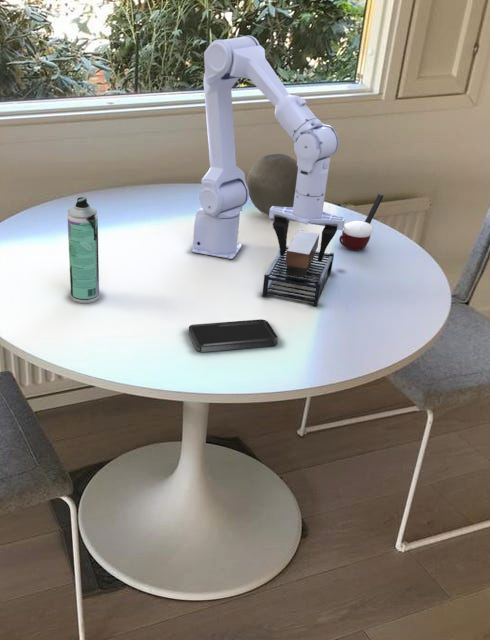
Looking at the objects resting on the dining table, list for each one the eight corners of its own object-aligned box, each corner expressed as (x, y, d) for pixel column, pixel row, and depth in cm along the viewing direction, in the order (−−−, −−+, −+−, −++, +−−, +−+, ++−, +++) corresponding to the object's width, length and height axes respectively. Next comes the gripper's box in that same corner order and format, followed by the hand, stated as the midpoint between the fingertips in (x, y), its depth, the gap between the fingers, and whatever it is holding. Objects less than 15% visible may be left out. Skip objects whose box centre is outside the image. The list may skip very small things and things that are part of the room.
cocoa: (339, 253, 171) (347, 202, 165) (332, 242, 177) (340, 191, 170) (380, 253, 172) (390, 202, 166) (372, 242, 178) (381, 192, 171)
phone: (279, 340, 136) (197, 346, 133) (279, 345, 137) (197, 352, 134) (266, 318, 142) (187, 324, 139) (265, 323, 143) (187, 329, 140)
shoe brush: (283, 274, 151) (286, 250, 149) (295, 252, 160) (298, 230, 157) (305, 278, 150) (309, 254, 147) (316, 256, 159) (319, 233, 156)
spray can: (103, 293, 151) (102, 196, 140) (92, 305, 147) (89, 206, 136) (78, 288, 153) (74, 191, 142) (66, 300, 148) (61, 201, 137)
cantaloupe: (245, 202, 196) (251, 144, 188) (301, 207, 194) (309, 149, 186) (242, 223, 184) (247, 162, 176) (301, 229, 183) (309, 167, 174)
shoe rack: (262, 296, 153) (264, 274, 150) (280, 264, 165) (282, 244, 163) (316, 307, 150) (320, 285, 147) (330, 273, 162) (334, 253, 160)
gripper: (268, 192, 146) (261, 258, 153) (344, 204, 142) (334, 271, 149) (276, 181, 151) (269, 244, 158) (350, 192, 147) (339, 256, 155)
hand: (301, 256), depth 154 cm, fingers open, 7 cm apart
